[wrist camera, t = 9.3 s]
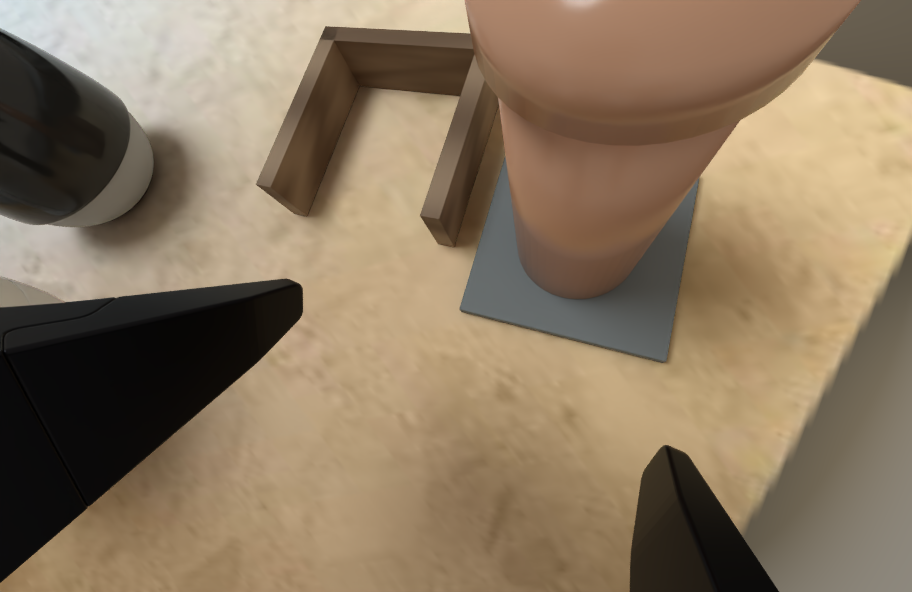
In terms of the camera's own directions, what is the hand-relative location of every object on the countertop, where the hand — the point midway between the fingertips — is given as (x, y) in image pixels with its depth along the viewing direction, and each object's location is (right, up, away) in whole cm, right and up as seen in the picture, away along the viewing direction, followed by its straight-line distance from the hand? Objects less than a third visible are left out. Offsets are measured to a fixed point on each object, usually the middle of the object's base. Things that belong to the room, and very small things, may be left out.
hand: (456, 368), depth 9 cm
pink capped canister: (+6, +4, +11) cm, 13 cm away
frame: (-4, +11, +15) cm, 19 cm away
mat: (+6, +4, +11) cm, 14 cm away
